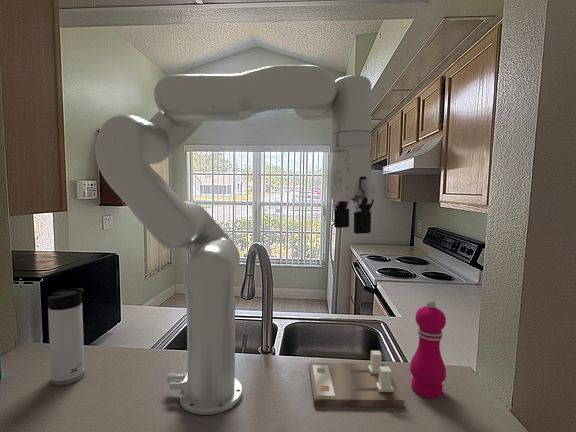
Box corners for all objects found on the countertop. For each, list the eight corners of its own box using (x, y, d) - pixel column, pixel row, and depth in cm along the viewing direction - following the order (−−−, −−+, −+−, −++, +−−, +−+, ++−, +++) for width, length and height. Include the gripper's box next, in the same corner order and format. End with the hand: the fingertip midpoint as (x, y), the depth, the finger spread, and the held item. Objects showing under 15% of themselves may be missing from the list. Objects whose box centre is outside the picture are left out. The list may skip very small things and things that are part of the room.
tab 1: (370, 373, 77) (371, 355, 77) (367, 367, 80) (368, 350, 79) (383, 373, 77) (384, 355, 77) (380, 367, 80) (381, 350, 79)
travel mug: (83, 382, 75) (80, 293, 73) (47, 388, 72) (43, 296, 70) (88, 368, 80) (85, 285, 79) (55, 373, 78) (51, 287, 76)
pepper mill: (422, 402, 70) (428, 307, 68) (402, 382, 77) (406, 295, 75) (452, 397, 72) (458, 304, 70) (429, 378, 79) (434, 293, 77)
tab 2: (378, 391, 70) (379, 371, 70) (375, 385, 73) (376, 365, 72) (393, 392, 70) (394, 372, 70) (389, 385, 73) (390, 365, 72)
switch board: (314, 406, 68) (314, 398, 68) (309, 368, 82) (309, 362, 82) (404, 407, 68) (404, 399, 68) (383, 369, 82) (384, 363, 82)
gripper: (318, 148, 75) (319, 226, 76) (352, 136, 58) (352, 237, 59) (350, 148, 76) (350, 224, 78) (392, 137, 60) (391, 235, 61)
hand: (351, 230), depth 69 cm, fingers open, 9 cm apart
